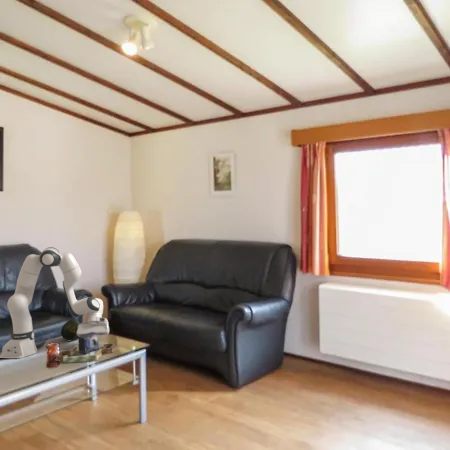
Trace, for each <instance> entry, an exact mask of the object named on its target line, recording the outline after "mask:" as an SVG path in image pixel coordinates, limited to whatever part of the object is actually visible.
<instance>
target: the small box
mask: <svg viewBox="0 0 450 450" xmlns="http://www.w3.org/2000/svg"><path fill="white" fill-rule="evenodd" d="M77 340H78V344H79V349H78V353H79V354H82V355H88V354H89V353H90V354H91V353H93V352H95V351H99V349H100V347H99V345H100V343H99V335H98V333H94V332H90V333H87V334H84V335H81V336H78V339H77Z"/></svg>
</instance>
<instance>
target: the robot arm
mask: <svg viewBox="0 0 450 450" xmlns="http://www.w3.org/2000/svg"><path fill="white" fill-rule="evenodd" d="M43 267H45V268H52V267H59V269H60V271H61V273H62V275H63V281H62V287H63V292H64V294H65V298H66V301H67V305H68V311H69V313H70V314H71V315H72V316H73V317H74V318H78V317H80V316H83V315H85V314H88V317H87V322H80V323H81V324H79V325H78V330H77V335H78V336H81V335H84V334H87V333H90V332H94V333H98V336H107V335H109V333H110V326H109V325H110V324H109V321H108V319H107V318H106V317H103V313H104V302H103V299H101V298H98V297H93V296H87V297H85V298H82V299H79V300H78V299H77V298H76V295H75V291H74V286H75V284H76V283H78V282H79V281H80V279H81V277H82V273H83V272H82V269H81V267H80V265H79V263H78V261H77V260H76V258H75V256H74V255H73V254H72V253H71V252H63V253H60V252H59V250H58V249H57V248H55V247H52V246H51V247H47V248H45V249H43V250H42V251H41V252H40V253H38V254H33V253H32V254H31V253H30V254H29V255H27V256H26V257H25V259H24V262H23V264H22V266H21V269H20V270H19V274H18V277H17V280H16V286H15V291H14V294H13V295H11V296H10V297H9V298H8V301H7V304H6V305H7V309H8V311H9V314H10V318H11V322H12V323H11V324H12V330H13V332H12V333H11V334H10V335H9V338H11V339H10V340H8V342H6V343H5V345H3V346H2V350H1V353H0V358H17V359H22V358H25V357H30V356H32V355H35V354H36V353H37V352H38V349H37V346H36V342H35V332H34V328H33V320H32V318H33V317H32V316H31V313H30V310H29V306H30V305H31V303H32V300H33V297H34V292H35V288H36V284H37V281H38V278H39V276H40V272H41V270H42V268H43Z"/></svg>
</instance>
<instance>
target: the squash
mask: <svg viewBox="0 0 450 450" xmlns="http://www.w3.org/2000/svg"><path fill="white" fill-rule="evenodd" d="M81 323H82V322H80V321H79V320H78V319H77V317H72V318H71V319H69V320H68V321H66V322H65V323H64V324H63V325H62V327H61V330H60V336H61V337H62V339H65V340H66V341H67V340H71V341H76V340H78V335H77V330H78V325H79V324H81Z"/></svg>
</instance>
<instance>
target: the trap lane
mask: <svg viewBox="0 0 450 450" xmlns="http://www.w3.org/2000/svg"><path fill="white" fill-rule="evenodd" d="M116 349H117V343H115V342H110V343H108V341H105V342H104V343H103V348H102V347H101V348H99V350H97V352H96V353H95V354H90V355H88V354H86V355H76V356H74V355H75V354H76V353H77V352H78V351H79V343H76V345H74V346H73V348H72V349H70V350H68V349H67V350H59V352H58V353H59V360H60V361H61V362H63V364H69V363H82V362H95V360H97V361H98V360H99V359H100V357H101V356H102V355H106V354H109V355H110V354H113V353H114V351H115V350H116Z"/></svg>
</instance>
